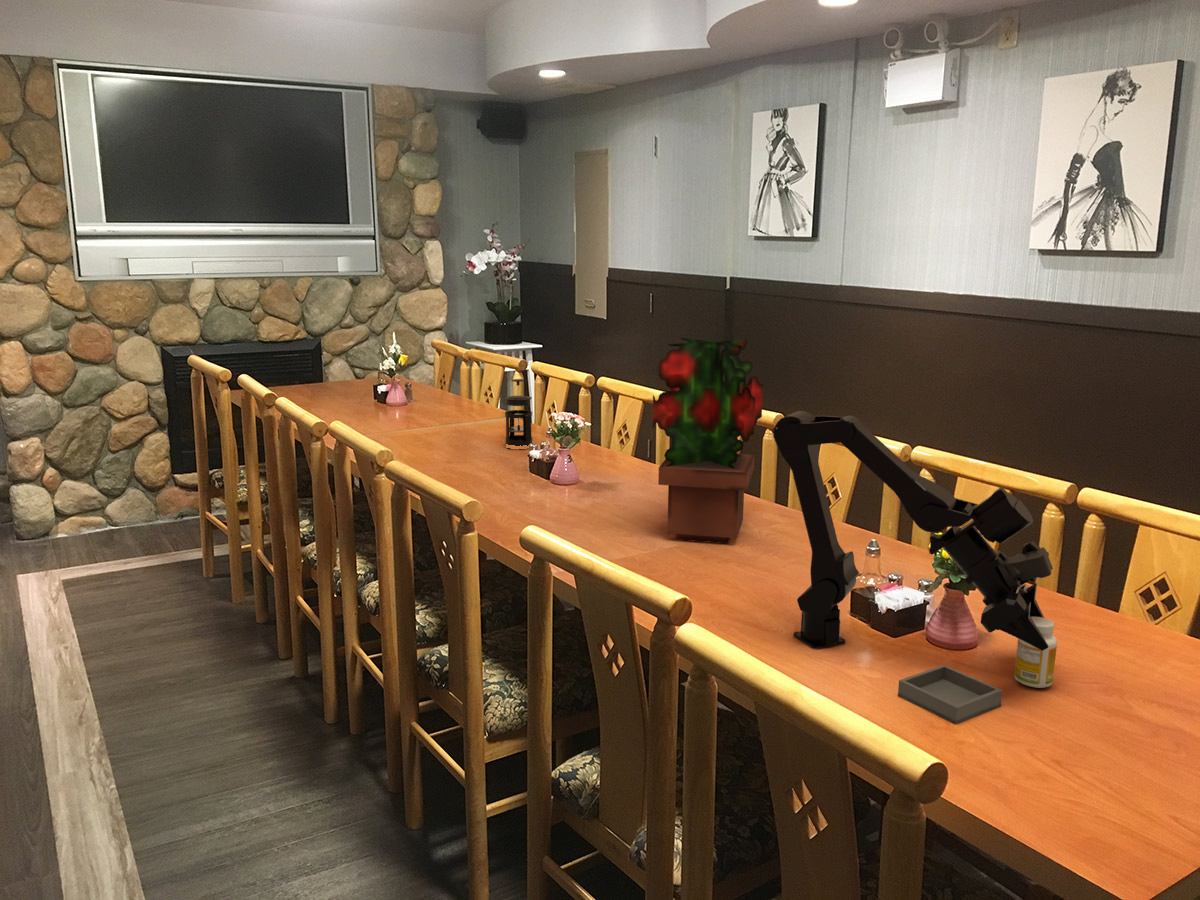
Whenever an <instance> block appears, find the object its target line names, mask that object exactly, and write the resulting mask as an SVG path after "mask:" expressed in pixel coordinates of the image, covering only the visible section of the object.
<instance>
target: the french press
mask: <svg viewBox="0 0 1200 900" xmlns="http://www.w3.org/2000/svg"><path fill="white" fill-rule="evenodd" d="M511 381H512V382H515V383H516V386H517V395H511V396H510V395H509V396H506V397H504V400H505V405H506V406H510V407H512V406H513V407H517V409H511V410H506V411H505V412H504V417H505V433H506V434H505V445H506V444H508V445H515V446H520V445H521V446H523V445H527V446H528V445H529V444H530V443H532V444H533V436H532V417H533V412H532V410H526V409H520V407H523V406H525V407H526V406H530V405H531V400H532V398H533V397H532V396H528V395H520V393H519V391H520V390H519V387H520V383H521V382H525V380H524V379H520V378H517V379H516V378H514V379H512V380H511ZM515 419H517V426H515ZM520 419H522V421H523V422H522V425H521V424H520ZM515 433H522V434H515Z"/></svg>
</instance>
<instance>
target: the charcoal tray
mask: <svg viewBox="0 0 1200 900" xmlns="http://www.w3.org/2000/svg"><path fill="white" fill-rule="evenodd" d="M897 696H898V697H899V698H902V699H904V701H905V700H906V701H908V702H910V703H912V704H913V705H916V706H917V707H920V708H922V709H924V710H925V711H928V712H930V713H932V714H934V715H937V716H938V717H941V718H942V719H944V720H946V721H948V722H950V723H952V724H954V725H957V724H960V723H963V722H966V721H968V720H970V719H973V718H975V717H977V716H980V715H983V714H985V713H988V712H990V711H993V710H995V709H997V708H999V707H1001V706H1002V701H1003V700H1002V699H1003V689H1001V688H998V687H996V686H994V685H992V684H990V683H987V682H986V681H983V680H980V679H977V678H975V677H974V676H971V675H968V674H966V673H964V672H962V671H960V670H957V669H955V668H952V667H950V666H947V665H946V664H941V665H939V666H936V667H933V668H930V669H927V670H924V671H922V672H918V673H916V674H913V675H910V676H907V677H905V678H902V679H899V680H898V688H897Z"/></svg>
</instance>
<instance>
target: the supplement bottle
mask: <svg viewBox="0 0 1200 900" xmlns="http://www.w3.org/2000/svg"><path fill="white" fill-rule="evenodd" d="M1031 618H1032V620H1033V622H1034V623H1035V625H1036V626H1037V628H1038V629H1039V631H1040V633H1041V634H1042V636H1043V637H1044V639H1045V641H1046V642H1047V644H1048V648H1047V649H1045V650H1040V649H1038V648H1036V647H1034V646H1032V645H1030V644H1028V643H1027V642H1025V641H1023V640H1021V639H1019V638H1017V644H1016V646H1017V647H1016V654H1015V656H1016V657H1015V665H1014V678H1015V680H1016V681H1017V682H1018V683H1020V684H1022V685H1025V686H1027V687H1031V688H1039V689H1042V688H1048V687H1050V686H1052V684H1053V681H1054V680H1053V679H1054V672H1055V663H1056V656H1057V647H1058V645H1057V644H1058V640H1057V638H1056V637H1055V636H1054V635H1053V634H1054V629H1055V628H1054V627H1055V622H1054V621H1052V620H1051V619H1048V618H1046V617H1044V618H1042V617H1031Z"/></svg>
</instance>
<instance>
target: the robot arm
mask: <svg viewBox="0 0 1200 900" xmlns="http://www.w3.org/2000/svg"><path fill="white" fill-rule="evenodd" d="M772 434H773V435H772V436H773V439H774V442H775V444H776V447H777V449H778V451H779V453H780V455H781V457H782V458H783V460H784V461H785V463H786V464H787V466H788V467H789V468H790V470H791V473H792V476H793V480H794V484H795V490H796V492H797V493H796V494H797V496H798V502H799V505H800V508H801V512H802V517H803V520H804V525H805V529H806V532H807V536H808V540H809V545H810V548H811V563H810V571H809V572H810V586H809V587H808V588H807V589H805V591H804V592H803V593H801V594H800V595H799V596H798V598H797V600H796V602H797V605H798V608H799V610H800V611H801V619H800V620H801V622H800V623H801V624H800V630H799V631H794V632H793V634H792V635H793V637H795V638H797V640H800V641H802V642H803V643H805V644H806V645H808V646H809V647H811V648H813V649H822V648H823V649H824V648H827V647H832V646H837V645H842V644H843V645H844V644H846V639H845V638H843V637H842V636H840V629H841V619H840V615H841V609H840V608H839V604H840V603H842V602H843V601H844V600H845V598H846V597H847V596H848V595H849V593H850V592H852V590H853V589H854V587H855V586H856V583H857V577H858V575H859V574H860V572H859V570H858V569H857V567H856V564H855V563H856V562H855V555H854V552H853V551H848V552H846V553H845V551H844V549H843V548H842V547H841V545H840V544H839V541H838V537H837V533H836V529H835V524H834V521H833V517H832V512H831V508H830V504H829V500H828V496H827V491H826V488H825V484H824V480H823V477H822V473H821V472H822V471H821V469H820V468H821V467H820V463H819V459H820V447H821V445H824V444H825V445H827V444H842V445H843V446H844V447H845V448H846V449H848V450H849V452H850V453H852V455H854V456H855V457H856V458H857V459H858V460H859V461H860V462H861V463H863V465H865V467H867V468H868V469H869V471H871V473H874V475H875V476H877V477H878V479H880V480H881V482H883V484H885V485H886V486H887V487H888V488H889V489H891V490H892V492H893V493H894V494H895V495H896V496H897V498H898V499H899V501H900V503H901V505H902V507H903V509H904V510H905V512H906V513H907V514H908V516H909V517H910V518H911V520H913V522H914V524H915V525H916V526H917V527H918V528H919V529H920V530H922V531H923V532H927V533H932V534H931V535H930V537H929V541H930V543H929V544H930V545H929V551H928V554H929V555H935V553H937V552H939V551H940V550H941V549H943V550H944V552H946V553H947V555H948V556H949V557H950V559H952V561H954V563H955V564H956V566H958V568H959V569H960V570H961V571H962V572H963V574H964V575H965V577H964V581H965V582H966V584H967V585H970V584H972V585H974V587H975V588H976V589H977V590H978V591H979V593H980V595H982V596H983V599H982V603H983V604H984V605H985V606H984V609H983V610H982V613H981V616H980V624H981V625H982V626H983V627H984V629H985V630H986V631H987V632H988V633H989V634H990V633H993V632H994V631H1002V632H1004V633H1006V634H1008V635H1010V636H1012V637H1015V638H1017V639H1018V638H1019V639H1021V640H1023V641H1025V642H1027V643H1028V644H1030V645H1032V646H1034V647H1036V648H1038V649H1040V650H1045V649H1047V648H1048V644H1047V642H1046V641H1045V639H1044V637H1043V636H1042V634H1041V633H1040V631H1039V629H1038V628H1037V626H1036V625H1035V623H1034V622H1033V620H1032V618H1031V617H1042V618H1045V616H1044V614H1043V612H1042V610H1041V609H1040V606H1039V603H1038V602H1037V600H1036V599H1037V598H1036V596H1037V595H1036V594H1037V589H1038V583H1034V582H1035V581H1036V580H1037V578H1039V579H1044V578H1047V577H1049V576H1051V575H1052V570H1054V568H1053V567H1054V566H1053V565H1052V563H1051V560H1050V557H1049V556H1050V553H1049V552H1048V551H1047V550H1046V548H1045V547H1040V546H1039V545H1038V544H1037V543H1036V542H1035V541H1030V542H1027V543H1026V542H1025V543H1024V544H1023V545H1022V552H1021V553H1020V552H1018V553H1016V555H1011V556H1007V554H1005V552H1004V551H1000V550H997V552H996V550H995V549H994V548H993V547H992V545H991V544H989V542H990V543H992V544H993V543H995V542H996V543H999V544H1003V543H1005V542H1006V541H1008V540H1009V539H1011V538H1012V537H1013V536H1015V535H1017V534H1018V533H1020V532H1021V531H1022V530H1024V529H1025V528H1027V527H1028V526H1030V525H1032V524H1033V523H1034V518H1033V516H1032V513H1031V512H1030V510H1028V508H1027V506H1026V505H1025V504H1024V503H1023V502H1022V500H1021V499H1017V497H1015V496H1014V495H1013V494H1011V493H1010V492H1008V491H1007V490H1006V489H1005V488H1004V487H1003V486H1000V487H999V488H997V489H996V490H994V491H993V493H992V494H991V495H990V496H987V498H985V499H983V501H981V502H980V503H976V502H971V501H967V500H963V499H960V498H956V497H955V496H954V495H953V494H952V493H951V492H950V491H948V490H947V489H945V488H944V487H942V486H940V485H939V484H937V483H936V482H934V481H932V480H930V479H928V478H926V477H924V476H921V475H920V474H919V473H916V472H915V471H914V470H912V469H911V468H910V467H909V465H907V464H906V463H905V462H904V461H903V460H901V458H900V457H898V456H897V455H896V454H895V453H894V452H893V451H892V450H891V449H890V448H889V447H887V446H886V445H885V444H884V443H883V442H882V441H881V440H880V439H879V438H878V437H876V436H875V435H874V434H873V432H871V431H870V430H869V429H868V428H867V427H866V426H864V425H863V423H862V421H861V420H860V419H859V418H857V417H856V416H855V415H846V416H835V415H834V416H833V415H813V414H811V413H810V412H807V411H804V410H798V411H795V412H792V413H791V414H788V415H786V416H784V417H781V419H778V421H777V422H776V423H775V426H774V427H773V430H772ZM969 521H970V522H969ZM946 528H948V529H947V530H945V529H946ZM943 530H945V531H944V532H942V531H943ZM938 532H942V533H941V534H937V533H938ZM1029 581H1030V582H1032V583H1033V584H1032V585H1030V586H1028V585H1027V584H1026V583H1028V582H1029Z"/></svg>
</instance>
